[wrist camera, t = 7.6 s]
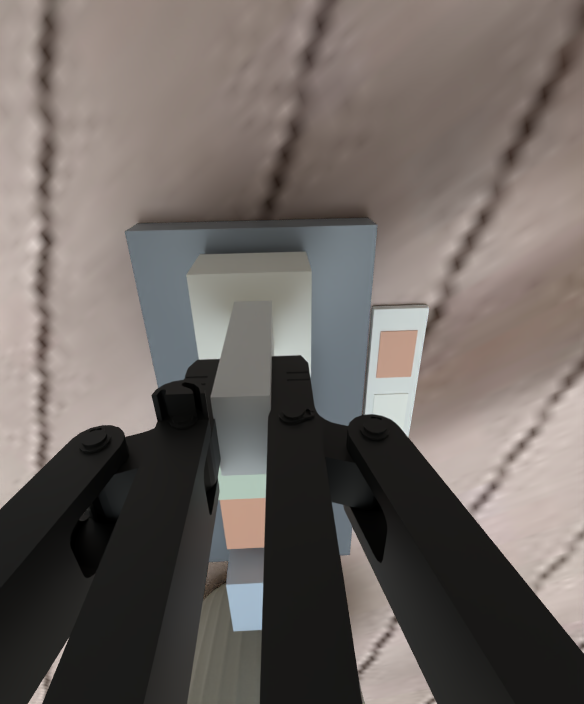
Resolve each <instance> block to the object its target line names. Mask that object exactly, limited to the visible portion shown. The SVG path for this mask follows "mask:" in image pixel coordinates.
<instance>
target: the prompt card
mask: <svg viewBox="0 0 584 704" xmlns="http://www.w3.org/2000/svg"><path fill="white" fill-rule="evenodd" d="M428 312H429V307H428V306H427V305H399V306H372V314H371V326H370V338H369V349H368V361H367V373H366V384H365V396H364V408H363V415H366V414H375V415H381V416H384V417H386V418H389V419H391V420H393V421H394V422H395V423H396V424H397V425H398V426H399V427H400V428H401V429H402V430H403V432H404V433H405V434H406V435H407V437H409V431H410V424H411V418H412V412H413V406H414V399H415V393H416V387H417V381H418V374H419V368H420V362H421V355H422V349H423V343H424V337H425V330H426V324H427V318H428Z"/></svg>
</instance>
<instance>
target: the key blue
mask: <svg viewBox="0 0 584 704" xmlns="http://www.w3.org/2000/svg"><path fill="white" fill-rule="evenodd" d="M263 572H264V547H263V548H243V549H230V552H229V561H228V570H227V580H226V588H227V594H228V600H229V607H230V613H231V619H232V625H233V631H251V630H262V606H263Z"/></svg>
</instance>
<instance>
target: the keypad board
mask: <svg viewBox="0 0 584 704" xmlns="http://www.w3.org/2000/svg"><path fill="white" fill-rule="evenodd" d="M125 235H126V239H127V244H128V249H129V254H130V258H131V263H132V268H133V272H134V277H135V282H136V286H137V291H138V296H139V300H140V305H141V310H142V314H143V319H144V324H145V328H146V333H147V338H148V342H149V347H150V352H151V356H152V361H153V366H154V370H155V375H156V380H157V384H158V388H159V387H161V386H162V385H164V384H167V383H170V382H173V381H179V380H184V379H185V375H186V372H187V369H188V367H190V366H191V365H192V364H193V363H194V362H195V361H196V360H199V357H198V350H197V344H196V337H195V330H194V324H193V317H192V310H191V303H190V297H189V290H188V283H187V277H186V274H187V273H188V271H189V270H190V268H191V267H192V265H193V264H194V262H195V261H196V259H197V258H198V256H199V255H200V254H233V253H270V252H306V254H307V257H308V260H309V264H310V267H311V271H312V299H311V377H310V378H311V385H312V392H313V399H314V406H315V409H316V411H317V413H318V414H319V415H320V416H321V417H322V418H324V419H325V420H328V421H330V422H332V423H336V424H340V425H346V426H348V425H349V422H351V421H352V420H353V419H354V418H355V417H358V416H361V415H362V403H363V391H364V379H365V367H366V355H367V343H368V331H369V319H370V307H371V295H372V283H373V271H374V259H375V247H376V235H377V224H376V223H374V222H373V221H372V220H371V219H369V218H336V219H296V220H256V221H216V222H177V223H138V224H136V225H134V226H133V227H131V228H129V229H128V230H126V231H125ZM332 507H333V513H334V520H335V526H336V533H337V539H338V546H339V553H340V555H350V546H351V534H352V525H351V523H350V521H349V519H348V517H347V515H346V513H345V511H344V507H343V505H342V504H338V503H333V502H332ZM229 552H230V549H227V545H226V539H225V532H224V525H223V519H222V512H221V505H220V500H218V505H217V512H216V518H215V525H214V531H213V538H212V544H211V551H210V557H209V562H220V561H229Z"/></svg>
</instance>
